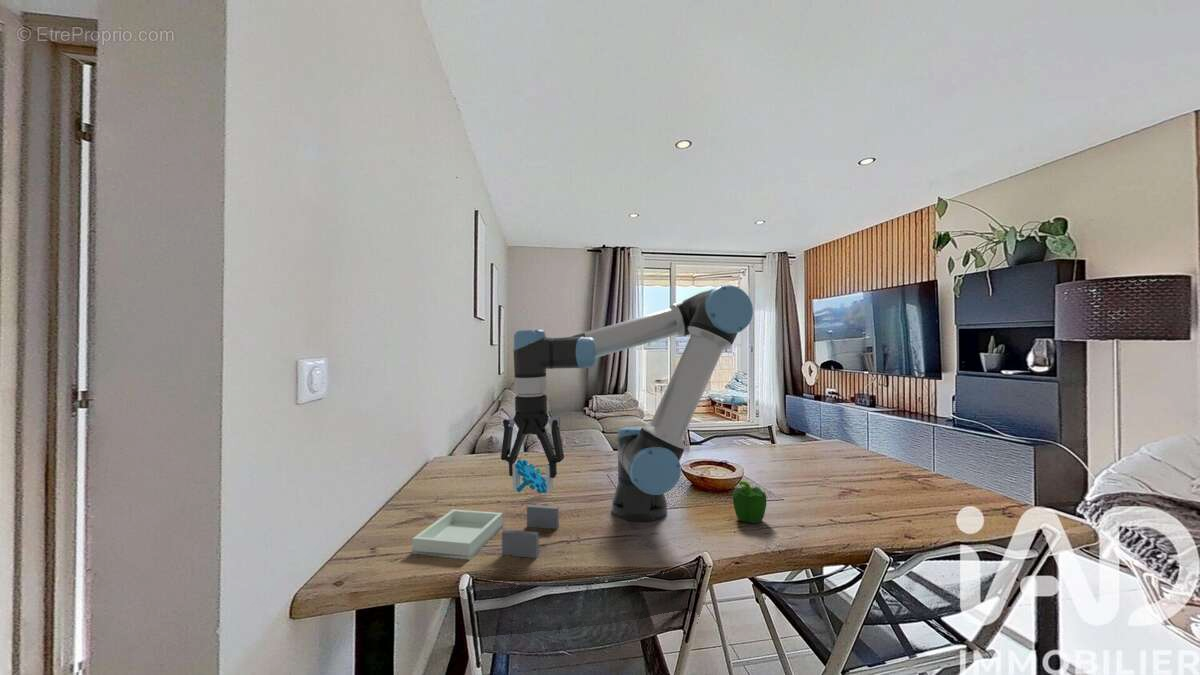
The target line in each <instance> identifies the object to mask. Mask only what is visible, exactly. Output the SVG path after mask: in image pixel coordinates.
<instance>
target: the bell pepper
mask: <svg viewBox="0 0 1200 675" xmlns="http://www.w3.org/2000/svg"><path fill="white" fill-rule="evenodd" d="M738 483H739V485H740V486H741V487H736V488H734V489H733V491H732V503H733V509H734V512H735V515H736V518H737V519H738V520H739V521H741V522H745V523H746V522H749V523H752V524H759V523H761V522H762V521H763V519H764V516H765V513H766V509H767V494H766V492H765V491H762V489H761V488H760V487H759V486H757V487H751V485H750V483H749V482H746V481H743V480H741V481H740V480H739V481H738ZM742 485H743V486H742Z"/></svg>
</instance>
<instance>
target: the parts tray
mask: <svg viewBox="0 0 1200 675" xmlns="http://www.w3.org/2000/svg"><path fill="white" fill-rule="evenodd" d="M502 528H504V513H503V512H494V511H481V510H480V511H478V510H470V509H469V510H468V509H467V510H465V509H451V510H450V511H449V512H447V513H446V514H444V515H443V516H441V517H440V518H439V519H437V520H436V521H434V522H433V523H432V524H431V525H429V526H427V527H426V528H425V529H423V530H422V531H421V532H419V533H418V534H416V535H415V536H413V537H412V542H411V543H412V545H411V546H412V550H411V551H412V555H417V554H420V555H419V556H427V555H428V556H430V557H437V556H438V557H439V558H448V557H449V558H450V559H458V558H459V560H468V561H470V560H471V559H473V557H475V555H476V554H477V553H479V552H480V550H481V549H483V547H484V546H485V545H486V544H487V543H488V542H490V540H491V539H493V538H494V536H495V535H496V534H497V533H498V532H499V531H500V530H502Z"/></svg>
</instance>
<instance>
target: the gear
mask: <svg viewBox="0 0 1200 675" xmlns="http://www.w3.org/2000/svg"><path fill="white" fill-rule="evenodd" d="M516 461H517V464H516V465H515V467H516V468H518V470H517V473H518V474H519V475H520V476H522V478H521V480H522V481H523V482H522V483H520V486H519V487H518V488H517V491H516V492H518V493H521V492H522V491H523V490H524V489H525V487H526V486H527V487H529V488H530V489H531V490H532V491H534V490H535V489H536V492H537V493H538V494H540V495H541V494H542V493H543V494H547V488H546V476H542V475H543V474H542V469H541V468H540V467H538V468H537V469H536V470H535V468H536V466H535V464H534V463H530V464H529V462H528V460H526V459H523V460H522V459H520V458H519V459H517V460H516ZM528 464H529V465H528Z"/></svg>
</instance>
